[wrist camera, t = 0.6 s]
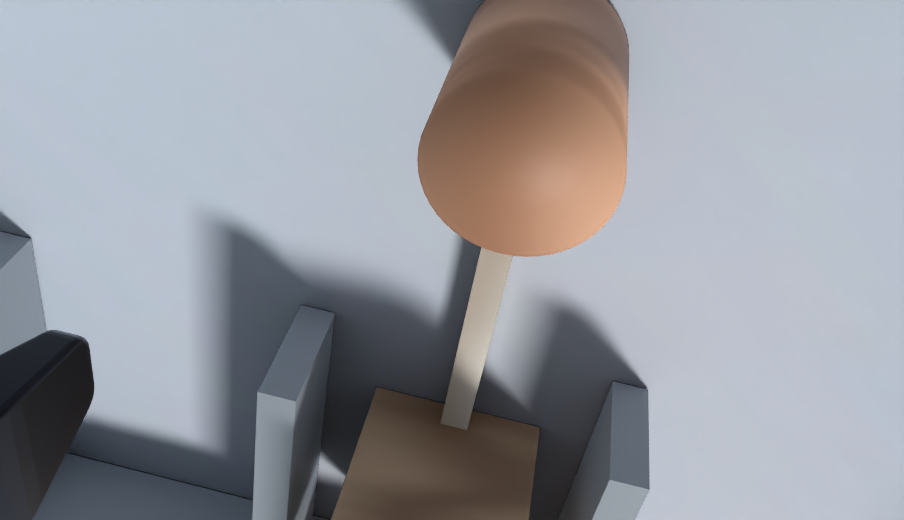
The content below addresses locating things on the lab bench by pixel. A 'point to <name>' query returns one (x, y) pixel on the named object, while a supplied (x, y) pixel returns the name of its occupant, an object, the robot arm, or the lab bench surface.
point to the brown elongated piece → (499, 240)
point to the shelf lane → (294, 434)
